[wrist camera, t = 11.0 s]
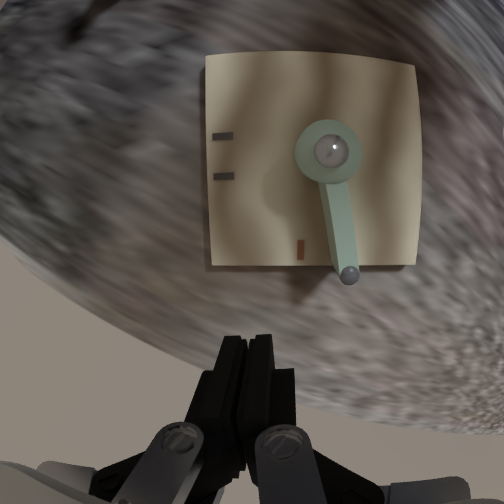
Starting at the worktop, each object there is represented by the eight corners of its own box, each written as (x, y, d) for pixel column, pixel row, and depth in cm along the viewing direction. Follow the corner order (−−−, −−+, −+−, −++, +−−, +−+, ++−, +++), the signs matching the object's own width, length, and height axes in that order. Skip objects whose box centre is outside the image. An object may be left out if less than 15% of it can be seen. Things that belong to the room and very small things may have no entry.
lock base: (408, 69, 21) (415, 64, 20) (409, 260, 27) (415, 265, 25) (209, 61, 23) (205, 55, 22) (215, 260, 29) (211, 266, 27)
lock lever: (288, 132, 23) (291, 123, 18) (342, 124, 22) (357, 113, 18) (315, 272, 26) (322, 294, 21) (365, 263, 25) (381, 282, 21)
